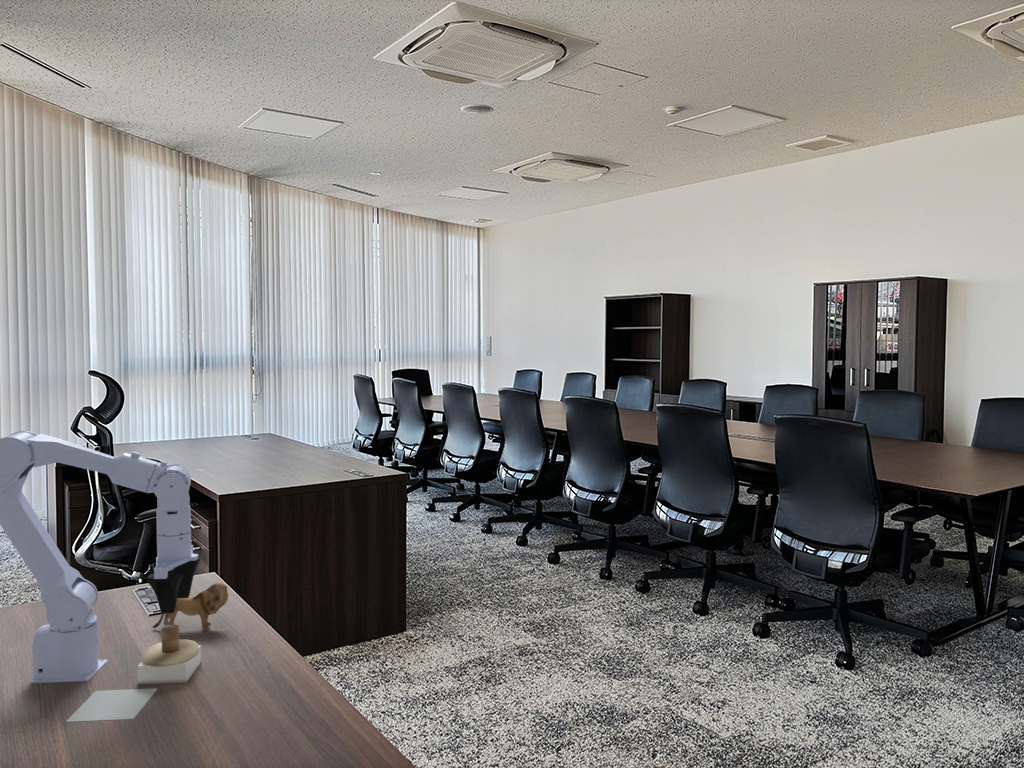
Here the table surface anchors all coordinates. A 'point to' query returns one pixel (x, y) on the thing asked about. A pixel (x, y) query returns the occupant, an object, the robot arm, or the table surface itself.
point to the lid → (170, 649)
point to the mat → (112, 705)
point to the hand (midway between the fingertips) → (175, 605)
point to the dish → (168, 671)
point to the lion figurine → (199, 605)
